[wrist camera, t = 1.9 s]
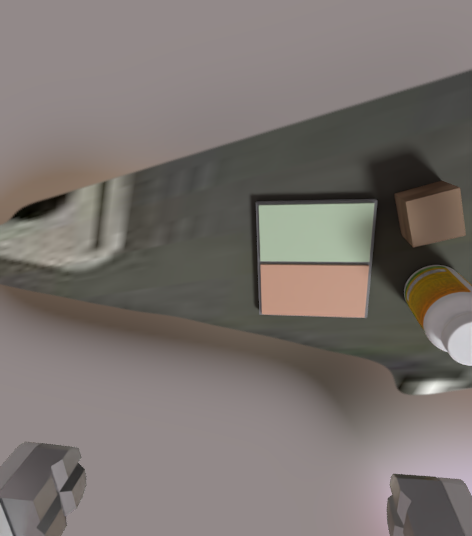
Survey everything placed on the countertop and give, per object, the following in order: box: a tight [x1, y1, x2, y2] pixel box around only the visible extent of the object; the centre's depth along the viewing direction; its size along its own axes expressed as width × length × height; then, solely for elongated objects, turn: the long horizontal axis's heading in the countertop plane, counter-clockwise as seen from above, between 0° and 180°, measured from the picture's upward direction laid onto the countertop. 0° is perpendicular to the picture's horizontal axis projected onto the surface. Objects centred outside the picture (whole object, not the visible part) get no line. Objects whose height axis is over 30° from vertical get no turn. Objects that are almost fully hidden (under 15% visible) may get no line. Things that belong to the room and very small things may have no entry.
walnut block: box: [394, 181, 466, 247], centre depth 31 cm, size 4×4×4 cm
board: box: [256, 199, 378, 318], centre depth 36 cm, size 11×12×1 cm
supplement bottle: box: [404, 265, 472, 366], centre depth 31 cm, size 5×5×10 cm
